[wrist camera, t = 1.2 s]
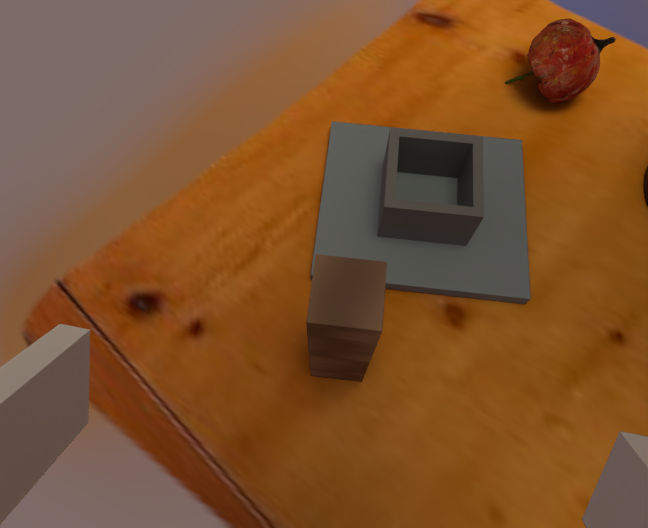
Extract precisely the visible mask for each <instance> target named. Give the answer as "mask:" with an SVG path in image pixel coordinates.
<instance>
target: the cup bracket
mask: <svg viewBox="0 0 648 528" xmlns="http://www.w3.org/2000/svg"><path fill="white" fill-rule="evenodd" d="M316 254H319V255H328V256H337V257H346V258H356V259H365V260H374V261H383V262H387V270H386V284H385V288H386V289H395V290H404V291H413V292H422V293H431V294H440V295H449V296H458V297H467V298H476V299H485V300H494V301H503V302H512V303H521V304H526V303H527V302H528V301H529V300H530V280H529V262H528V244H527V226H526V208H525V189H524V171H523V153H522V140H515V139H505V138H495V137H484V136H474V135H464V134H454V133H444V132H434V131H423V130H413V129H403V128H393V127H383V126H373V125H363V124H352V123H342V122H332V125H331V132H330V139H329V147H328V154H327V161H326V168H325V176H324V183H323V190H322V197H321V205H320V212H319V219H318V226H317V234H316V241H315V248H314V255H313V263H312V270H311V280H312V278H313V271H314V263H315V256H316Z"/></svg>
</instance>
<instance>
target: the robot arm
mask: <svg viewBox="0 0 648 528" xmlns="http://www.w3.org/2000/svg"><path fill="white" fill-rule="evenodd" d="M645 195H646V200H647V203H648V168H647V171H646V175H645ZM89 358H90V330H89V329H84V328H79V327H74V326H68V325H63V324H59V325H58V326H56V327H55V328H54V329H52V330H51V331H49V332H48V333H47V334H45V335H44V336H43V337H41V338H40V339H39V340H37V341H36V342H34V343H33V344H32V345H30V346H29V347H28V348H26V349H25V350H23V351H22V352H21V353H19V354H18V355H17V356H15V357H14V358H12V359H11V360H10V361H8V362H7V363H6V364H4V365H3V366H1V367H0V524H1V523H2V522H3V520H5V518H6V517H7V516H8V515H9V514H10V513H11V512H12V510H13V509H14V508H15V507H16V506H17V504H18V503H19V502H20V501H21V500H22V499H23V498H24V496H25V495H26V494H27V493H28V492H29V491H30V489H31V488H32V487H33V486H34V485H35V484H36V482H37V481H38V480H39V479H40V478H41V477H42V476H43V474H44V473H45V472H46V471H47V470H48V469H49V467H50V466H51V465H52V464H53V463H54V462H55V461H56V459H57V458H58V457H59V456H60V455H61V454H62V452H63V451H64V450H65V449H66V448H67V447H68V445H69V444H70V443H71V442H72V441H73V440H74V438H75V437H76V436H77V435H78V434H79V433H80V432H81V430H82V429H83V428H84V427H85V426H86V425H87V423H88V409H89ZM582 520H583V522H584V524H585V526H586V528H648V437H647V436H642V435H637V434H631V433H626V432H621V431H620V432H619V435H618V437H617V439H616V442H615V444H614V446H613V449H612V451H611V453H610V456H609V458H608V460H607V463H606V465H605V467H604V470H603V472H602V474H601V476H600V479H599V481H598V483H597V486H596V488H595V490H594V493H593V495H592V497H591V500H590V502H589V504H588V507H587V509H586V511H585V514H584V516H583V518H582Z"/></svg>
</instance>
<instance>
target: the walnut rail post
mask: <svg viewBox="0 0 648 528" xmlns="http://www.w3.org/2000/svg"><path fill="white" fill-rule="evenodd" d="M386 270H387V262H383V261H374V260H365V259H356V258H346V257H337V256H328V255H319V254H316V256H315V263H314V271H313V278H312V285H311V293H310V300H309V308H308V315H307V322H306V323H307V335H308V347H309V359H310V371H311V376H318V377H326V378H335V379H343V380H352V381H360V382H362V380H363V377H364V375H365V372H366V370H367V367H368V365H369V362H370V360H371V357H372V355H373V352H374V350H375V347H376V345H377V342H378V340H379V338H380V335H381V333H382V326H383V312H384V298H385V284H386Z"/></svg>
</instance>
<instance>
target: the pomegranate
mask: <svg viewBox="0 0 648 528" xmlns="http://www.w3.org/2000/svg"><path fill="white" fill-rule="evenodd" d="M615 40H616V38H614V37H611V38H608V39H604V40H597V39H594V38H593V37H592V36H591V34H590V30H589V29H588V28H587V27H585V26H584V25H582V24H581V23H579V22H576V21H574V20H572V19H561V20H557V21H554V22H552V23H550V24H548V25H547V26H546V27H545V28H544V29H543V30H542V31H541V32H540V33H539V34H538V35H537V36H536V37H535V38H534V39H533V41H532V43H531V46H530V49H529V53H528V55H527V56H528V61H529V63H530V65H531V68H532V70H533V71H531V72H529V73H527V74H524V75H522V76H519V77H517V78H514V79H511V80H508V81H506V82H505V84H509V83H512V82H515V81H517V80H523V79H524V78H526V77H528V76H530V75H534V74H535V76H536V78H537V80H538V89H539V91H540V92H541V93H542V94H543V95H544V97H545V99H546V101H547V102H550V103H558V102H562V101H567V100H570V99H572V98H574V97H576V96H578V95H579V94H580V93H582V92H583V91H584V90H585V89H586V88H588V87H589V86H590V84H591V83H592V82H593V81H594V80H595V78H596V76H597V73H598V71H599V67H600V52H601V51H602V49H603V48H604V47H605V46H607V45H608V44H611V43H613V42H615Z"/></svg>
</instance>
